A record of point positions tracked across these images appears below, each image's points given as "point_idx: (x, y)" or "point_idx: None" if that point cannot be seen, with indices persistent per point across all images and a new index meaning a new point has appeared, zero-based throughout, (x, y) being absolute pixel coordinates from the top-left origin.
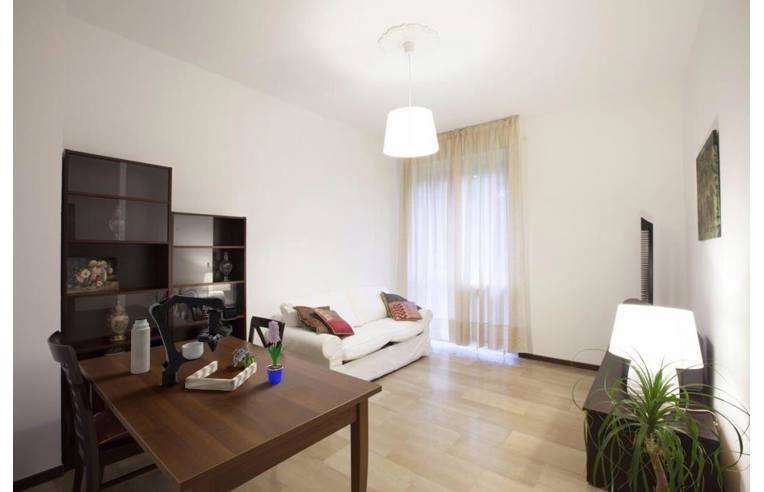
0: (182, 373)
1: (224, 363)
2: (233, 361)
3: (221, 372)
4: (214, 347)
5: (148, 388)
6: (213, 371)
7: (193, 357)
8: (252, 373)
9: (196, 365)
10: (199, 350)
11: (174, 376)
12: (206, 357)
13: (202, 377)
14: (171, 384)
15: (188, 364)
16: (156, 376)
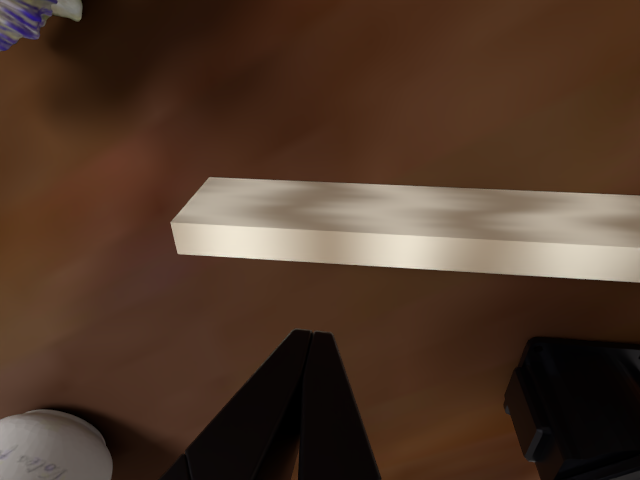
0: None
1: (46, 185)
2: (38, 23)
3: (284, 81)
4: (333, 419)
5: None
6: (282, 181)
7: (89, 434)
8: None
9: (180, 366)
10: (19, 460)
11: (632, 405)
12: (17, 371)
13: (497, 197)
14: (622, 361)
15: (180, 412)
16: (410, 474)
